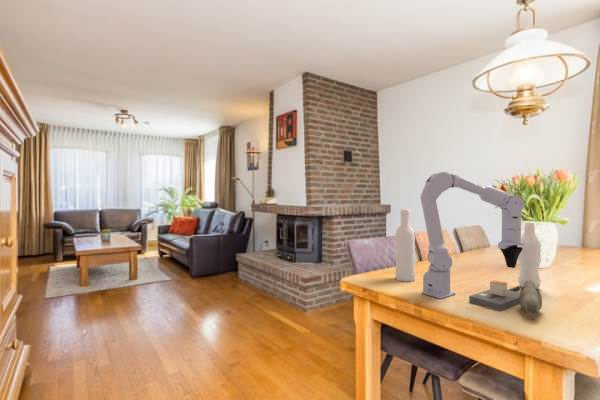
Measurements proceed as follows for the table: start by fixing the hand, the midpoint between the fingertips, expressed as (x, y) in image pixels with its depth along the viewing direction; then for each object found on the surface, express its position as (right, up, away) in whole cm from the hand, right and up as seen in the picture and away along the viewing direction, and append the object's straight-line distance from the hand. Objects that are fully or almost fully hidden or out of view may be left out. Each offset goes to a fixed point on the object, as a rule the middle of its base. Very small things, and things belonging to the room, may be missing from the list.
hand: (511, 267), depth 114 cm
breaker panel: (-7, -10, -5) cm, 14 cm away
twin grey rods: (+5, -10, +3) cm, 12 cm away
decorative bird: (-4, -11, -15) cm, 19 cm away
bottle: (-30, -10, +24) cm, 39 cm away
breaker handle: (-8, -8, -5) cm, 12 cm away
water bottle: (+14, -10, +10) cm, 20 cm away
